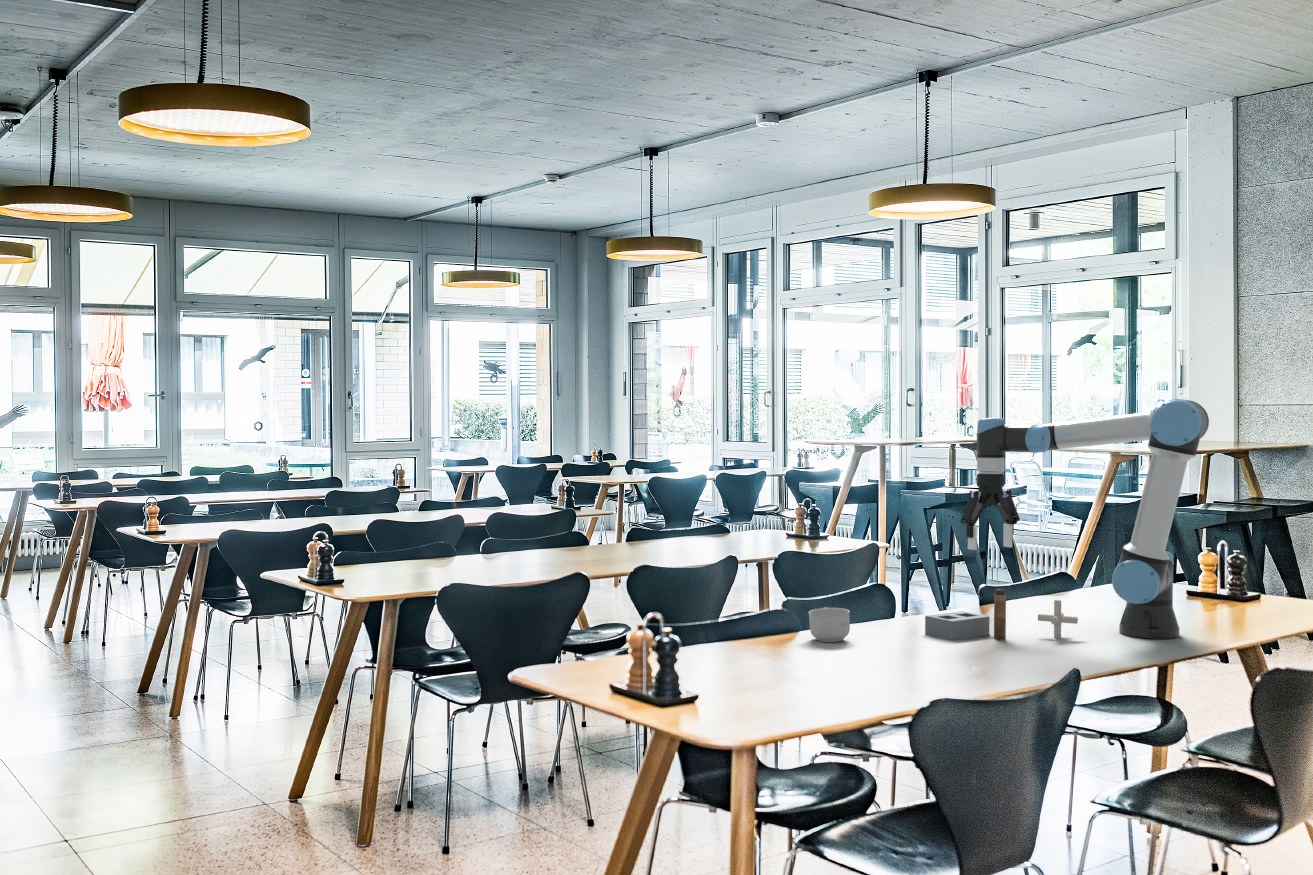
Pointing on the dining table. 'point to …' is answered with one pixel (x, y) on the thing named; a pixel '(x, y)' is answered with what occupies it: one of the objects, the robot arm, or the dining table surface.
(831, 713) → the dining table surface
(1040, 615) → the pipe connector
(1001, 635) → the peg
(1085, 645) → the dining table surface
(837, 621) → the teacup
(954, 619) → the holder block
